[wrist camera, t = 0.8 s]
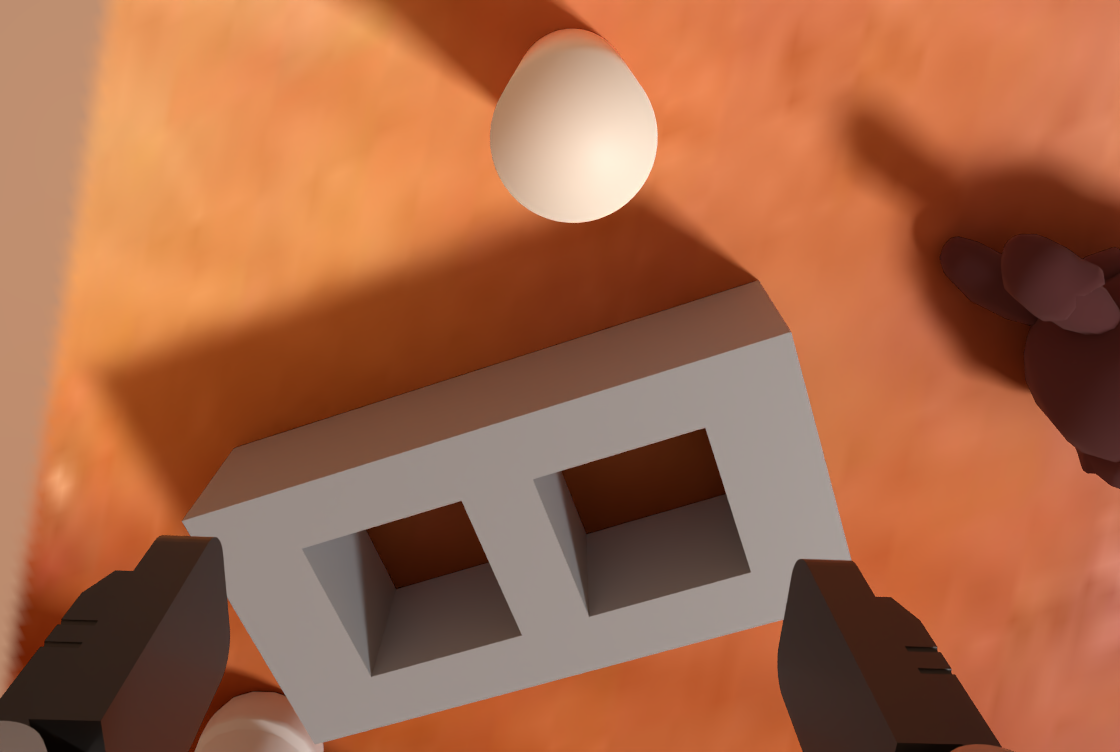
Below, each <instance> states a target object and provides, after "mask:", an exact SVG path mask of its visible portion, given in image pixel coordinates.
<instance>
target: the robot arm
mask: <svg viewBox="0 0 1120 752" xmlns="http://www.w3.org/2000/svg"><path fill="white" fill-rule="evenodd" d="M61 620H62V621H61V625H57V626H56V627H55V628H54V630H53V631H52V632H51V634H50V635H49V636H48V637H47V639H46V640H45V644H44V647H40V648H39V649H38V650H37V652H36V653H35V654H34V656H33V657H32V658H31V659H30V661H29V662H28V663H27V665H26V666H25V667H24V669H23V670H22V671H21V672H20V674H19V675H18V676H17V678H16V679H15V680H14V682H13V683H12V684H11V685H10V687H9V688H8V689H7V691H6V692H5V693H4V695H3V696H2V697H1V698H0V752H188V751H189V749H190V747H191V745H192V743H193V741H194V738H195V736H196V734H197V732H198V730H199V728H200V725H201V723H202V721H203V719H204V717H205V714H206V712H207V710H208V708H209V706H210V704H211V701H212V699H213V697H214V695H215V693H216V691H217V688H218V686H219V684H220V682H221V680H222V677H223V675H224V671H225V668H226V664H227V659H228V653H229V644H230V627H229V615H228V604H227V592H226V580H225V569H224V557H223V549H222V545H221V542H220V540H219V539H218V538H217V537H199V536H170V535H161V536H159V537H158V538H157V539H156V540H155V541H154V543H153V544H152V545H151V547H150V548H149V550H148V551H147V552H146V554H145V555H144V557H143V558H142V560H141V561H140V562H139V564H138V565H137V567H136V568H135V569H134V571H114V572H112V573H111V574H109V575H108V576H106V577H105V578H103V579H102V580H100V581H99V582H97V583H96V584H94V585H93V586H91V587H90V588H88V589H87V590H85V591H84V592H82V593H81V595H80V596H79V597H78V598H77V600H76V601H75V602H74V604H73V605H72V606H71V608H70V609H69V610H68V611H67V613H66V614H65V615H64V617H63V618H62V619H61ZM778 678H779V685H780V690H781V694H782V697H783V699H784V702H785V705H786V707H787V710H788V713H789V716H790V718H791V721H792V724H793V726H794V729H795V732H796V734H797V737H798V740H799V742H800V745H801V748H802V751H803V752H1014V751H1011V750H1008V749H1005V748H1002V747H1001V745H1000V743H999V742H998V740H997V739H996V737H995V736H994V734H993V733H992V731H991V730H990V728H989V726H988V725H987V723H986V722H985V720H984V719H983V717H982V716H981V714H980V712H979V711H978V709H977V708H976V706H975V705H974V703H973V702H972V700H971V699H970V697H969V695H968V694H967V692H966V691H965V689H964V688H963V686H962V685H961V683H960V681H959V680H958V678H957V677H956V675H952V673H951V667H950V666H949V664H948V663H947V661H946V660H945V658H944V657H943V655H942V654H941V652H938V651H937V646H936V644H935V643H934V641H933V640H932V638H931V636H930V635H929V633H928V632H927V630H926V629H925V627H924V626H923V624H922V623H921V621H920V620H919V619H918V618H916V617H915V616H914V615H913V614H911V613H910V612H909V611H908V610H906V609H905V608H904V607H902V606H901V605H900V604H899V603H897V602H896V601H895V600H894V599H892V598H891V597H875V595H874V594H873V592H872V590H871V589H870V587H869V585H868V584H867V582H866V580H865V579H864V577H863V575H862V573H861V572H860V570H859V568H858V567H857V565H856V564H855V563H854V562H853V561H851V560H823V559H799V560H797V561H796V563H795V565H794V568H793V571H792V575H791V581H790V587H789V592H788V598H787V603H786V609H785V614H784V620H783V625H782V631H781V637H780V642H779V648H778Z"/></svg>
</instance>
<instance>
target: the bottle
mask: <svg viewBox="0 0 1120 752" xmlns="http://www.w3.org/2000/svg"><path fill="white" fill-rule="evenodd" d="M195 752H324V747H323V743H319V744H314V742H313V741H312V739H311V737H310V736H309V734H308V732H307V731H306V729H305V727H304V726H303V724H302V722H301V721H300V719H299V717H298V716H297V714H296V712H295V711H294V709H293V707H292V706H291V704H290V702H289V700H288V699H287V697H286V696H284V695H281V694H278V693H276V692H250V693H246V694H243V695H240V696H236V697H233V698H232V699H231V700H230V701H229V702H227V703H226V704H225V705H224V706H223V707H221V708H220V709H219V710H218V711H217V712H216V713H215V714H214V715H213V716H212V718H211V719H210V720H209V722H208V723H207V725H206V727H205V729H204V731H203V733H202V735H201V737H200V739H199V741H198V744H197V747H196V749H195Z"/></svg>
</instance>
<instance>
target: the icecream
mask: <svg viewBox="0 0 1120 752" xmlns="http://www.w3.org/2000/svg"><path fill="white" fill-rule="evenodd" d="M940 261H941V264H942V268H943V271H944V273H945V274H946V276H947V277H948V278H949V279H950V280H951V281H952V282H953V283H954V284H955V285H956V286H957V287H958V288H959V289H960V290H961V291H962V292H963V293H964V294H965V295H966V296H967V297H968V299H969V300H970V301H972V302H974V303H976V304H978V305H980V306H982V307H984V308H986V309H988V310H990V311H992V312H994V313H996V314H998V315H1000V316H1002V317H1004V318H1006V319H1009V320H1012V321H1016V322H1020V323H1024V324H1028V325H1031V327H1030V330H1029V333H1028V336H1027V340H1026V345H1025V349H1024V366H1025V380H1026V382H1027V385H1028V387H1029V389H1030V391H1031V393H1032V396H1033V398H1034V400H1035V402H1036V404H1037V405H1038V406H1039V407H1040V409H1041V410H1042V411H1043V412H1044V413H1045V415H1046V416H1047V417H1048V418H1049V419H1050V421H1051V422H1052V423H1053V424H1054V425H1055V427H1056V428H1057V429H1058V430H1059V431H1060V433H1061V434H1062V435H1063V436H1064V437H1065V439H1066V440H1067V441H1068V442H1069V443H1071V444H1072V445H1073V446H1074V447H1075V448H1076V450H1077V453H1078V456H1079V459H1080V463H1081V466H1082V469H1083V471H1085V472H1086V473H1094V474H1097V475H1098V476H1099V477H1101V478H1102V479H1103V480H1104V481H1106V482H1107V483H1108V484H1109V485H1111V486H1113V487H1116V488H1119V489H1120V250H1119V249H1117V248H1116V247H1113V248H1110V249H1107V250H1104V251H1101V252H1098V253H1095V254H1092V255H1089V256H1086V257H1085V258H1084V259H1081V258H1080V257H1078V256H1077V255H1076V254H1074V253H1073V252H1072V251H1070V250H1069V249H1067V248H1066V247H1064V246H1062V245H1060V244H1058V243H1056V242H1054V241H1052V240H1050V239H1048V238H1045V237H1043V236H1040V235H1037V234H1019V235H1016V236H1014V237H1012V238H1011V239H1009V240H1008V242H1007V243H1006V244H1005V246H1004V249H1003V253H1002V254H1000V253H998V252H996V251H994V250H993V249H991V248H989V247H987V246H985V245H983V244H981V243H979V242H977V241H973V240H969V239H966V238H962V237H953V238H951V239H950V240H948V241H947V242H946V244H945V245H944V247H943V249H942V252H941V255H940Z"/></svg>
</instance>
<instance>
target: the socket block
mask: <svg viewBox="0 0 1120 752" xmlns="http://www.w3.org/2000/svg"><path fill="white" fill-rule="evenodd" d="M703 428H706V432H707V435H708V438H709V441H710V444H711V447H712V451H713V454H714V457H715V460H716V463H717V466H718V469H719V473H720V476H721V479H722V482H723V485H724V488H725V492H726V494H724V495H721V496H718V497H714V498H711V499H707V500H704V501H700V502H697V503H693V504H690V505H686V506H683V507H679V508H676V509H673V510H669V511H666V512H662V513H659V514H655V515H652V516H648V517H645V518H641V519H638V520H634V521H631V522H627V523H624V524H621V525H617V526H614V527H610V528H607V529H603V530H600V531H596V532H593V533H589V534H586V532H585V530H584V527H583V524H582V522H581V519H580V517H579V514H578V512H577V509H576V507H575V504H574V502H573V499H572V497H571V494H570V491H569V489H568V486H567V484H566V481H565V479H564V476H563V474H562V470H566V469H569V468H572V467H576V466H579V465H582V464H586V463H589V462H592V461H596V460H599V459H602V458H606V457H609V456H612V455H616V454H619V453H622V452H626V451H629V450H632V449H636V448H639V447H642V446H646V445H649V444H653V443H656V442H659V441H663V440H666V439H669V438H673V437H676V436H679V435H683V434H686V433H689V432H693V431H696V430H699V429H703ZM459 501H462V503H463V505H464V507H465V510H466V512H467V514H468V516H469V519H470V521H471V523H472V525H473V527H474V530H475V532H476V534H477V536H478V539H479V541H480V543H481V545H482V547H483V550H484V552H485V554H486V556H487V559H488V561H489V563H485V564H482V565H478V566H475V567H472V568H468V569H465V570H461V571H458V572H454V573H451V574H447V575H444V576H440V577H437V578H433V579H430V580H427V581H423V582H420V583H416V584H413V585H409V586H406V587H402V588H399V589H396V588H395V586H394V584H393V582H392V580H391V579H390V577H389V575H388V573H387V571H386V569H385V567H384V565H383V563H382V561H381V559H380V557H379V555H378V553H377V551H376V549H375V547H374V545H373V543H372V541H371V539H370V537H369V535H368V533H367V531H366V529H369V528H372V527H376V526H379V525H382V524H386V523H389V522H392V521H396V520H399V519H402V518H406V517H409V516H412V515H416V514H419V513H422V512H426V511H429V510H432V509H436V508H439V507H442V506H446V505H449V504H452V503H456V502H459ZM182 522H183V524H184V526H185V527H186V529H187V531H188V532H189V534H190V536H199V537H217V538H218V539H219V540H220V542H221V545H222V549H223V557H224V569H225V580H226V592H227V598H228V600H229V601H230V603H231V605H232V606H233V608H234V610H235V611H236V613H237V615H238V616H239V618H240V620H241V621H242V623H243V625H244V627H245V628H246V630H247V632H248V633H249V635H250V637H251V638H252V640H253V642H254V643H255V645H256V647H257V648H258V650H259V652H260V653H261V655H262V657H263V658H264V660H265V662H266V664H267V665H268V667H269V669H270V670H271V672H272V674H273V675H274V677H275V679H276V680H277V682H278V684H279V685H280V687H281V689H282V690H283V692H284V694H285V695H286V697H287V699H288V700H289V702H290V704H291V706H292V707H293V709H294V711H295V712H296V714H297V716H298V717H299V719H300V721H301V722H302V724H303V726H304V727H305V729H306V731H307V732H308V734H309V736H310V737H311V739H312V741H313V742H314V744H319V743H323V742H326V741H330V740H334V739H338V738H341V737H345V736H349V735H353V734H356V733H360V732H364V731H368V730H371V729H375V728H379V727H383V726H386V725H390V724H394V723H398V722H401V721H405V720H409V719H412V718H416V717H420V716H424V715H427V714H431V713H435V712H439V711H442V710H446V709H450V708H454V707H457V706H461V705H465V704H469V703H472V702H476V701H480V700H484V699H487V698H491V697H495V696H499V695H502V694H506V693H510V692H514V691H517V690H521V689H525V688H529V687H532V686H536V685H540V684H544V683H547V682H551V681H555V680H559V679H562V678H566V677H570V676H574V675H577V674H581V673H585V672H589V671H592V670H596V669H600V668H604V667H607V666H611V665H615V664H619V663H622V662H626V661H630V660H634V659H637V658H641V657H645V656H649V655H652V654H656V653H660V652H664V651H667V650H671V649H675V648H679V647H682V646H686V645H690V644H694V643H697V642H701V641H705V640H709V639H712V638H716V637H720V636H724V635H727V634H731V633H735V632H739V631H742V630H746V629H750V628H754V627H757V626H761V625H765V624H769V623H772V622H776V621H780V620H784V614H785V609H786V603H787V598H788V592H789V587H790V581H791V575H792V571H793V568H794V565H795V563H796V561H797V560H799V559H823V560H851V557H850V553H849V550H848V546H847V542H846V538H845V534H844V531H843V527H842V523H841V519H840V515H839V512H838V508H837V504H836V500H835V496H834V493H833V489H832V485H831V481H830V478H829V474H828V470H827V466H826V462H825V459H824V455H823V451H822V447H821V443H820V440H819V436H818V432H817V428H816V424H815V421H814V417H813V413H812V409H811V405H810V402H809V398H808V394H807V390H806V387H805V383H804V379H803V375H802V371H801V368H800V364H799V360H798V356H797V352H796V349H795V345H794V341H793V337H792V333H791V331H790V329H789V328H788V326H787V325H786V323H785V321H784V320H783V318H782V317H781V315H780V314H779V312H778V310H777V309H776V307H775V306H774V304H773V302H772V301H771V299H770V298H769V296H768V295H767V293H766V291H765V290H764V288H763V287H762V285H761V284H760V282H759V280H758V281H755V282H751V283H748V284H745V285H742V286H739V287H736V288H733V289H730V290H726V291H723V292H720V293H717V294H714V295H711V296H708V297H705V298H701V299H698V300H695V301H692V302H689V303H686V304H683V305H680V306H676V307H673V308H670V309H667V310H664V311H661V312H658V313H655V314H651V315H648V316H645V317H642V318H639V319H636V320H633V321H630V322H626V323H623V324H620V325H617V326H614V327H611V328H608V329H605V330H601V331H598V332H595V333H592V334H589V335H586V336H583V337H580V338H576V339H573V340H570V341H567V342H564V343H561V344H558V345H555V346H552V347H548V348H545V349H542V350H539V351H536V352H533V353H530V354H527V355H523V356H520V357H517V358H514V359H511V360H508V361H505V362H502V363H498V364H495V365H492V366H489V367H486V368H483V369H480V370H477V371H473V372H470V373H467V374H464V375H461V376H458V377H455V378H452V379H448V380H445V381H442V382H439V383H436V384H433V385H430V386H427V387H423V388H420V389H417V390H414V391H411V392H408V393H405V394H402V395H398V396H395V397H392V398H389V399H386V400H383V401H380V402H377V403H373V404H370V405H367V406H364V407H361V408H358V409H355V410H352V411H348V412H345V413H342V414H339V415H336V416H333V417H330V418H327V419H323V420H320V421H317V422H314V423H311V424H308V425H305V426H302V427H298V428H295V429H292V430H289V431H286V432H283V433H280V434H277V435H273V436H270V437H267V438H264V439H261V440H258V441H255V442H252V443H248V444H245V445H242V446H239V447H236V448H234V449H233V450H232V452H231V453H230V454H229V456H228V457H227V459H226V460H225V461H224V463H223V464H222V466H221V467H220V468H219V470H218V471H217V473H216V474H215V475H214V477H213V478H212V480H211V481H210V482H209V484H208V485H207V487H206V488H205V489H204V491H203V492H202V494H201V495H200V496H199V498H198V499H197V501H196V502H195V503H194V505H193V506H192V508H191V509H190V510H189V512H188V513H187V515H186V516H185V517H184V519H183V520H182Z"/></svg>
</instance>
